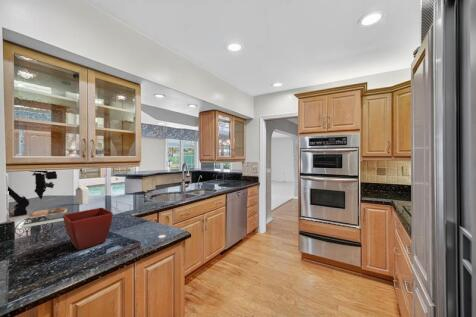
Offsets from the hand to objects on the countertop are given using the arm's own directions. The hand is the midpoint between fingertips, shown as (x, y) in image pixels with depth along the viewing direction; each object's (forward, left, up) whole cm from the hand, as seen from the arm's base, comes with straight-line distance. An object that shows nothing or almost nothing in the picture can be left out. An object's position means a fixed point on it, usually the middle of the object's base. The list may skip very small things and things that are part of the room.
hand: (41, 198), depth 169 cm
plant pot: (+24, -95, -12) cm, 99 cm away
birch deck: (+5, -11, -12) cm, 17 cm away
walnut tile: (+10, -11, -10) cm, 18 cm away
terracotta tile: (0, -11, -10) cm, 15 cm away
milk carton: (+28, +9, -12) cm, 32 cm away
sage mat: (+5, -26, -12) cm, 29 cm away
